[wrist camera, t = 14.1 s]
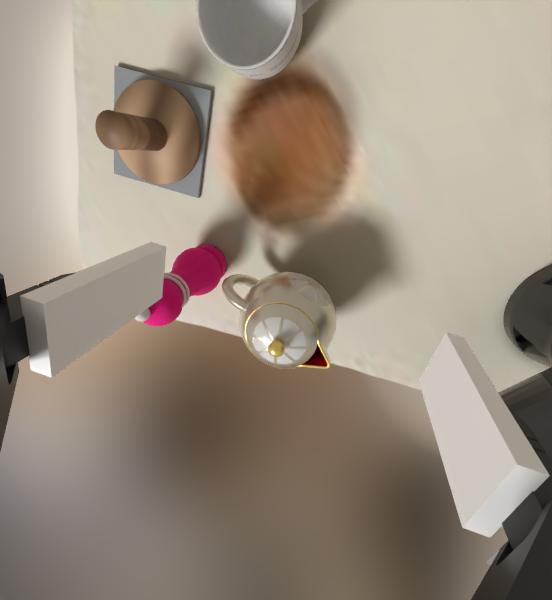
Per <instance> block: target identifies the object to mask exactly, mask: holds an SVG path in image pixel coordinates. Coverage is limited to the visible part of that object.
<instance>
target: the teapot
mask: <svg viewBox="0 0 552 600" xmlns="http://www.w3.org/2000/svg"><path fill="white" fill-rule="evenodd" d="M235 284H243V285H247V286H249V287H252V288H251V289H250V290H249V292H248V293H247V295H246V297H245V298H244V299H243V298H241V297H240V296H239V295H238V294H237V293H236V292H235V291H234V289H233V285H235ZM222 290H223V293H224V295H225V297H226V299H227V300H228V301H229V302H230V303H231V304H232V305H233V306H235V307H236V308H238V309H239V310H240V316H239V325H240V331H241V335H242V337H243V340H244V342H245V344H246V345H247V347H248V349H249V350H250V351H251V352H252V353H253V354H254V355H255V356H256V357H257V358H258V359H259V360H261V361H262V362H264V363H266V364H268V365H270V366H273V367H277V368H283V369H292V368H299V367H312V368H322V369H327V368H329V367H330V359H329V356H328V354H327V351H326V350H327V348H328V346H329V345H330V343H331V341H332V339H333V336H334V333H335V328H336V313H335V308H334V305H333V302H332V300H331V298H330V296H329V294H328V293H327V291H326V290H325V289H324V288H323V287H322V286H321V285H320V284H319V283H318V282H317V281H315V280H314V279H312V278H310V277H308V276H306V275H304V274H300V273H296V272H280V273H275V274H272V275H269V276H267V277H265V278H263V279H261V280H260V281H259V280H257V279H255V278H253V277H250V276H247V275H242V274H236V275H232V276H229V277H227V278H226V279H225V280H224V281H223V284H222Z"/></svg>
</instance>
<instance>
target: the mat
mask: <svg viewBox="0 0 552 600" xmlns="http://www.w3.org/2000/svg"><path fill="white" fill-rule="evenodd" d="M140 80H156V81H160V82H162V83H165V84H167V85H170V86H171V87H173V88H175V89H176V90H178V91H179V92H180V93H181V94H182V95H183V96H184V97H185V98H186V99H187V100H188V102H189V103H190V105H191V106H192V108H193V110H194V112H195V114H196V116H197V119H198V122H199V126H200V131H201V150H200V155H199V158H198V161H197V163H196V165H195V167H194V168H193V170H192V171H191V172H190V173H189V174H188V175H187V176H186V177H185V178H183V179H182V180H180V181H177V182H174V183H170V184H154V183H150V182H148V181H145V180H144V179H142V178H140V177H139V176H137V175H136V174H135V173H134V172H132V171H131V170H130V169H129V167H128V166H127V165H126V164H125V162H124V161H123V159H122V158H121V156H120V154H119V152H118V150H114V173H115V174H118V175H122V176H125V177H128V178H132V179H135V180H139V181H142V182H146V183H149V184H152V185H156V186H159V187H163V188H166V189H170V190H173V191H176V192H180V193H183V194H187V195H190V196H194V197H197V198H199V197H200V191H201V183H202V175H203V166H204V158H205V150H206V142H207V134H208V126H209V118H210V110H211V102H212V94H213V91H210V90H207V89H203V88H199V87H195V86H191V85H187V84H184V83H180V82H176V81H172V80H168V79H164V78H160V77H157V76H153V75H149V74H145V73H141V72H137V71H133V70H130V69H126V68H122V67H118V66H115V99H114V107H115V104H116V102H117V100H118V98H119V96H120V95H121V93H122V92H123V91H124V90H125V89H126V88H127V87H128V86H129V85H131V84H133V83H135V82H137V81H140Z"/></svg>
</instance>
